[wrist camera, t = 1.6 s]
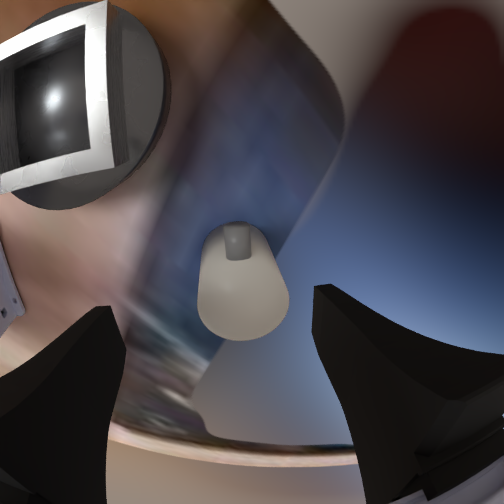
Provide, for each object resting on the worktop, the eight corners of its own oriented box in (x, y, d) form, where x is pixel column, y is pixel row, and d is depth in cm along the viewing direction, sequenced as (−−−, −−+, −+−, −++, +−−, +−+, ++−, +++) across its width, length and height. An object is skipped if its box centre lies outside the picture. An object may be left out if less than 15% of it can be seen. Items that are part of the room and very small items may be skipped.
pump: (270, 280, 21) (288, 335, 15) (206, 286, 20) (204, 344, 15) (267, 196, 18) (289, 228, 13) (195, 202, 18) (186, 238, 13)
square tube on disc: (179, 182, 17) (165, 206, 12) (21, 209, 16) (-24, 238, 11) (168, -2, 13) (152, -42, 8) (8, 51, 12) (-40, 42, 7)
